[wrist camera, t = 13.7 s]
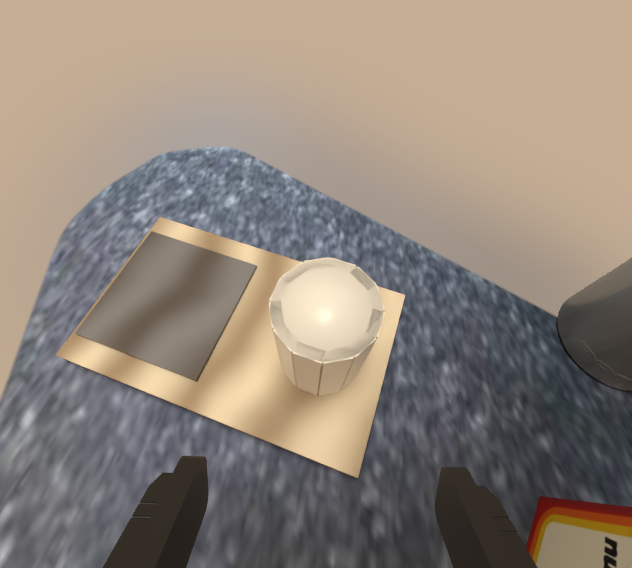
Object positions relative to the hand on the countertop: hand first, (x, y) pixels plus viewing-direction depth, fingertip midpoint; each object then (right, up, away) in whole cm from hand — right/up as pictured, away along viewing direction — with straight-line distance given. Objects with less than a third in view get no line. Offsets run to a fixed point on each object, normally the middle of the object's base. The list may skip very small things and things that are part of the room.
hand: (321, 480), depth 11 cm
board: (-7, +3, +18) cm, 19 cm away
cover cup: (0, +1, +16) cm, 16 cm away
